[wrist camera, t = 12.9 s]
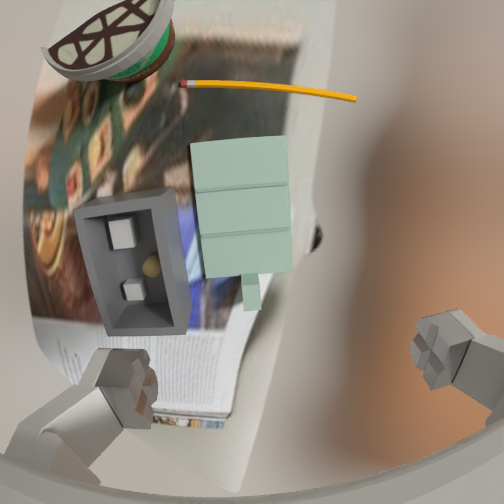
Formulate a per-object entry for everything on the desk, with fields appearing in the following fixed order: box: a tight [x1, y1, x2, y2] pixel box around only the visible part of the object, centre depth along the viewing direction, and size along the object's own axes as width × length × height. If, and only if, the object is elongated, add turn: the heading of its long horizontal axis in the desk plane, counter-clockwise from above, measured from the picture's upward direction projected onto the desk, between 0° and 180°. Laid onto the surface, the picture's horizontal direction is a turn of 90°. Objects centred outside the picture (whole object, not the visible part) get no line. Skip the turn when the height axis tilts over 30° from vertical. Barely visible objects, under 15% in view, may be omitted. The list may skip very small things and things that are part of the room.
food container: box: [41, 0, 175, 83], centre depth 21 cm, size 12×6×10 cm, turn 111°
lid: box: [190, 136, 293, 311], centre depth 30 cm, size 17×10×4 cm, turn 4°
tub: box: [73, 186, 193, 336], centre depth 30 cm, size 14×9×6 cm, turn 5°
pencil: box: [181, 80, 357, 103], centre depth 27 cm, size 1×18×1 cm, turn 87°
